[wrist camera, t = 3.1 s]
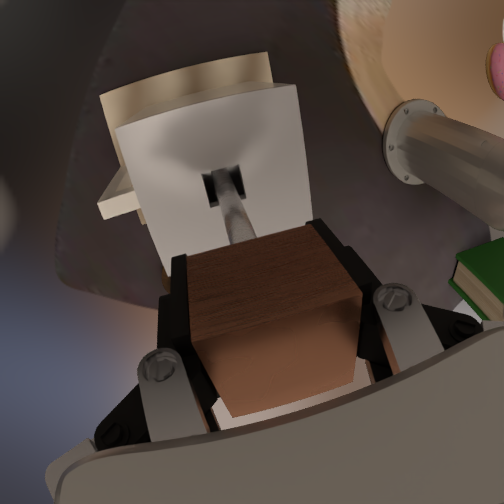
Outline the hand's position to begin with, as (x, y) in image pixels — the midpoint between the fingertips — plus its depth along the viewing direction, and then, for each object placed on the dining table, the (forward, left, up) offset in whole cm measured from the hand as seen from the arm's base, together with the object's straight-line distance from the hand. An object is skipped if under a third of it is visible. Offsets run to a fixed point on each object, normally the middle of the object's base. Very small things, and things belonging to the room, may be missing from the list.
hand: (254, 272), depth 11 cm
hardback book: (-50, +33, -25) cm, 65 cm away
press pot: (+2, 0, -24) cm, 24 cm away
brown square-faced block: (0, 0, -14) cm, 14 cm away
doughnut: (-50, -7, -25) cm, 57 cm away
